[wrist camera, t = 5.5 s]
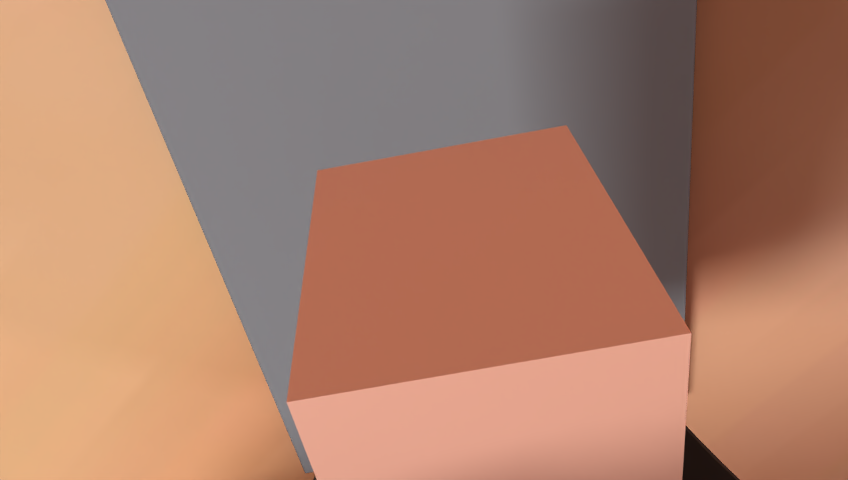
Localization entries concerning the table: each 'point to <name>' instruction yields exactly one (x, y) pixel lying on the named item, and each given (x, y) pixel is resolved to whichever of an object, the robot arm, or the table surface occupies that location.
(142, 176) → the table surface
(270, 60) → the mat
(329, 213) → the two-tone block
